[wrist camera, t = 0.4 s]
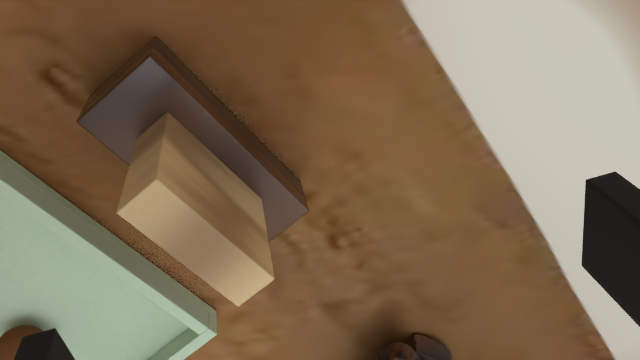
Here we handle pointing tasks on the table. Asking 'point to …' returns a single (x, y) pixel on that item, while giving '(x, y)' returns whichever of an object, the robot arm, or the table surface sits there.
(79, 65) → the table surface
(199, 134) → the chalkboard eraser
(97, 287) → the tray
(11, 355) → the cork ball
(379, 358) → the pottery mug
